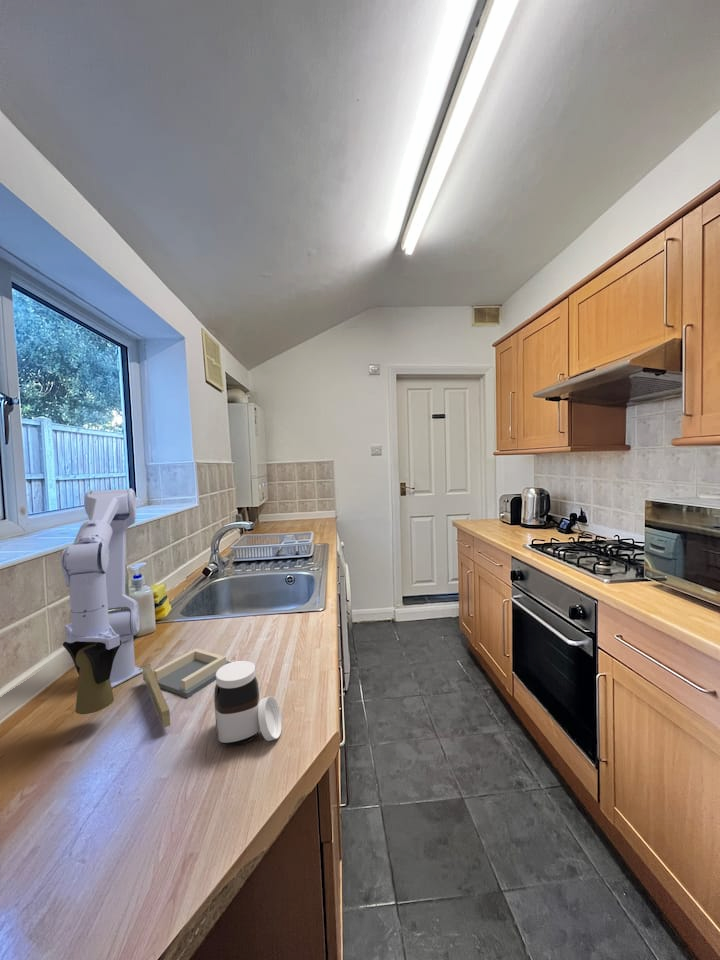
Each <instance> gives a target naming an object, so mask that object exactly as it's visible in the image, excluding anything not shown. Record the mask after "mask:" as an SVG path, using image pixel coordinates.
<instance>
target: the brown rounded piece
mask: <svg viewBox="0 0 720 960" xmlns="http://www.w3.org/2000/svg"><path fill="white" fill-rule="evenodd" d="M93 646H96V644H93V645H89V646H86V647H84V648H82V649H81V650H79V651H78V653H77V655H76V659H75V660H76V664H77V666H78V667H79V668H80V671H79V674H78V681H77V682H78V683H77V692H76V693H77V694H76V703H75V713H76V714H79V715H89V714H92V713H96V712H99V711H102V710H103V709H106V708H107V707H109V706H110V705H111V704H112V703H114V701H115V697H114V692H113V688H112V687H111V683H110V678H109V679H108V680H106V681H104V682H102V683H100V684H97V683H96V682H95V679H94V675H93V670H92V666H91V663H90V661H89V659H88V657H87V656H86V655H85V653H84V650H86V649H88V648H91V647H93Z"/></svg>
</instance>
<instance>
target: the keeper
mask: <svg viewBox="0 0 720 960" xmlns="http://www.w3.org/2000/svg"><path fill="white" fill-rule="evenodd" d="M151 666H152V665H151V664H150V663H147V664H146V663H145V664H144V665H143V666H142V669H143V672H142V680H143V682H144V683H145V685H146V688H147V691H148V692H149V695H150V698H151V701H152V703H153V706H154V709H155V711H156V714H157V717H158V719H159V722H160V724H161V727H162V728H163V729H165V728H167V727H170V726H171V713H170V708H169V705H168V703H167V701H166V699H165V696H164V694H163V691H162V690H161V688H160V687H159V685H158V683H157V681H156V678H155V676H154V670H153V669H152V667H151Z"/></svg>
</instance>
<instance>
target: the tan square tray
mask: <svg viewBox="0 0 720 960" xmlns="http://www.w3.org/2000/svg"><path fill="white" fill-rule="evenodd" d="M231 662H232V661H228V660H227V656H225V655H221V654H218V653H214V652H210V651H207V650H204V649H200V648H197V647H195V648H194V649H192V650H190V651H188V652H187V653H184V654H182V655H181V656H178V657H177V658H175V659H172V660H171V661H169V662H167V663H165V664H164V665H162V666H160V667H157V668H155V669H154V670H153V674H154V676H155V678H156V681H157V683H158V685H159V687H160V689H163V690H165V691H168V692H171V693H174V694H176V695H178V696H181V697H184V698H186V699H189V698H191V696H193V695H195V694H197V692H199V691H201V690H202V689H204V688H206V687H207V686H208V685H209V686H210V684H212V683H213V682H216V672H217V671H218V669H219V668H221V667H222V666H224V665H226V664H228V663H231Z"/></svg>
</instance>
